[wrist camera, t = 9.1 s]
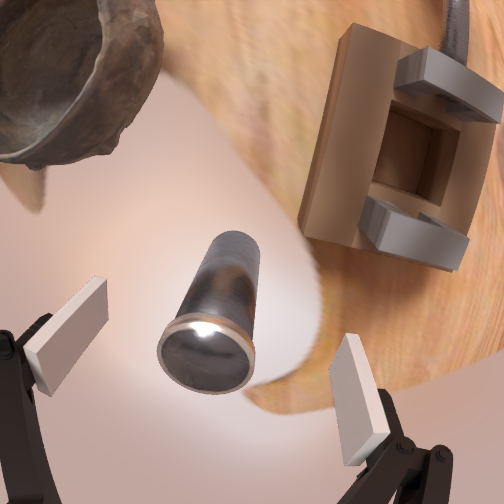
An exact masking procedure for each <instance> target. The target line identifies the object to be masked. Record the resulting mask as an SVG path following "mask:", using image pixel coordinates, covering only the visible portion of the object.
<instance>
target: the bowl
mask: <svg viewBox="0 0 504 504" xmlns="http://www.w3.org/2000/svg"><path fill="white" fill-rule="evenodd" d="M163 36H164V31H163V28H162V26H161V21H160V18H159V14H158V11H157V8H156V5H155V0H0V162H5V163H11V164H25V165H26V166H27V167H28V168H29V169H31V170H34V171H37V170H40V169H42V168H43V167H45V166H46V165H64V164H71V163H75V162H77V161H80V160H82V159H84V158H88V157H91V156H95V155H109V154H111V153H112V151H113V150H114V148H115V147H116V146H117V145H118V142H119V138H120V134H121V132H122V131H123V130H124V128H127V127H128V126H129V125H130V124H131V123H132V122H133V120H134V118H135V116H136V115H137V113H138V112H139V111H140V109H141V107H142V105H143V104H144V102H145V101H146V99H147V97H148V96H149V94H150V92H151V90H152V88H153V86H154V84H155V82H156V80H157V77H158V75H159V71H160V66H161V61H162V52H163V48H164V42H163Z"/></svg>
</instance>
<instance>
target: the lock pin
mask: <svg viewBox="0 0 504 504" xmlns="http://www.w3.org/2000/svg"><path fill="white" fill-rule="evenodd" d="M468 40H469V0H443V14H442V29H441V40H440V50H439V52H441V53H443V54H445V55H446V56H448V57H450V58H452V59H453V60H455V61H457V62H459V63H460V64H462V65H464V66H465V67H466V66H467V55H468ZM435 95H437V96H438V97H440V98H442V99H444V100H447V101H450V102H454V103H461V102H459V101H457V100H455V99H453V98H452V97H450V96H448V95H446V94H444V93H441V94H435Z"/></svg>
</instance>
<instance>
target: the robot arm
mask: <svg viewBox="0 0 504 504" xmlns="http://www.w3.org/2000/svg"><path fill="white" fill-rule="evenodd" d="M107 321H108V301H107V279H105V278H101V277H98V276H94V278H92V279H91V280H90V281H89V282H88V283H87V284H86V285H85V286H83V287H82V288H81V289H80V290H79V291H78V292H77V293H76V294H75V295H74V296H73V297H72V298H71V299H70V300H69V301H68V302H67V303H66V304H65V305H64V306H62V307H61V308H60V309H59V310H58V311H57V312H56V313H55V314H54V315H52V314H50V313H48V314H45V315H43V316H41V317H40V318H39V319H38V320H37V321H36V322H35V323H34V324H33V325H31V327H29V329H27V330H26V331H25V333H23V335H22V336H20V338H19V339H18V340H17V341H16V342H15V340H14V337H13V334H12V333H11V332H10V331H7V330H0V462H1V467H2V472H3V477H4V481H5V486H6V490H7V494H8V499H9V502H8V503H7V504H62V503H61V500H60V497H59V495H58V492H57V489H56V486H55V483H54V480H53V477H52V474H51V471H50V467H49V464H48V460H47V456H46V453H45V449H44V445H43V441H42V436H41V432H40V427H39V423H38V417H37V412H36V406H35V400H34V394H33V390H32V386H33V385H34V383H36V385H37V388H38V390H39V391H40V392H42V393H44V394H46V395H48V396H50V397H52V395H53V394H54V392H55V391H56V389H57V388H58V387H59V385H60V384H61V382H62V381H63V379H64V378H65V377H66V375H67V374H68V373H69V371H70V370H71V368H72V367H73V366H74V364H75V363H76V362H77V360H78V359H79V357H80V356H81V355H82V353H83V352H84V351H85V349H86V348H87V347H88V345H89V344H90V343H91V342H92V340H93V339H94V338H95V336H96V335H97V334H98V332H99V331H100V330H101V329H102V327H103V326H104V324H105V323H106V322H107ZM328 370H329V376H330V381H331V387H332V392H333V398H334V404H335V410H336V416H337V422H338V428H339V434H340V441H341V447H342V454H343V462H344V466H360V465H361V464H362V463H363V462H364V461H365V460H366V463H367V467H366V468H365V469H364V470H363V471H362V472H361V473H360V474H359V475H357V477H358V478H357V479H356V481H355V482H354V483H353V485H352V486H351V487H350V488H349V490H348V491H347V492H346V493H345V495H344V496H343V497H342V498H341V499H340V500H339V502H338V503H337V504H388V503H389V501H390V500H391V498H392V496H393V495H394V493H395V491H396V490H397V492H396V495H395V499H394V502H393V504H448V502H449V495H450V488H451V479H452V469H453V454H452V452H451V450H450V449H448V447H446V446H444V445H436V446H435V447H433V448H432V449H431V450H426V449H421V448H417V447H416V445H415V444H414V442H413V441H412V440H411V439H410V438H408V437H405V436H404V433H403V430H402V427H401V424H400V421H399V418H398V415H397V413H396V410H395V407H394V403H393V401H392V398H391V396H390V395H389V393H388V392H387V391H386V390H385V389H377V387H376V384H375V381H374V378H373V375H372V372H371V369H370V366H369V363H368V360H367V358H366V355H365V352H364V349H363V346H362V343H361V341H360V338H359V335H358V334H351V333H345V335H344V337H343V340H342V342H341V344H340V346H339V348H338V350H337V352H336V355H335V357H334V359H333V361H332V363H331V365H330V367H329V369H328Z"/></svg>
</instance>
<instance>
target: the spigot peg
mask: <svg viewBox="0 0 504 504" xmlns="http://www.w3.org/2000/svg"><path fill="white" fill-rule="evenodd" d="M259 264H260V251H259V247H258V245H257V244H256V242H255V241H254V239H252V238H251V237H250V236H249V235H247V234H245V233H243V232H239V231H227V232H224V233H222V234H220V235H219V236H217V237H216V238H215V239H214V240H213V242H212V244H211V245H210V248H209V249H208V251H207V253H206V255H205V257H204V260H203V261H202V263H201V265H200V267H199V269H198V271H197V273H196V276H195V278H194V280H193V282H192V284H191V286H190V288H189V290H188V292H187V294H186V296H185V298H184V300H183V302H182V305H181V306H180V309H179V311H178V313H177V315H176V317H175V319H174V320H173V321H171V322H170V323H169V324H168V326H167V327H166V328H165V330H164V332H163V334H162V337H161V339H160V341H159V343H158V346H157V356H158V361H159V363H160V365H161V367H162V369H163V370H164V371H165V373H166V374H167V375H168V376H169V377H170V378H171V379H172V380H174V381H175V382H176V383H178V384H179V385H181V386H183V387H185V388H187V389H189V390H192V391H195V392H199V393H203V394H213V395H218V394H226V393H230V392H234V391H236V390H238V389H240V388H242V387H243V386H244V385H246V384H247V383H248V381H249V380H250V379H251V377H252V375H253V372H254V365H255V347H254V344H253V342H252V339H253V328H254V318H255V307H256V296H257V285H258V275H259Z"/></svg>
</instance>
